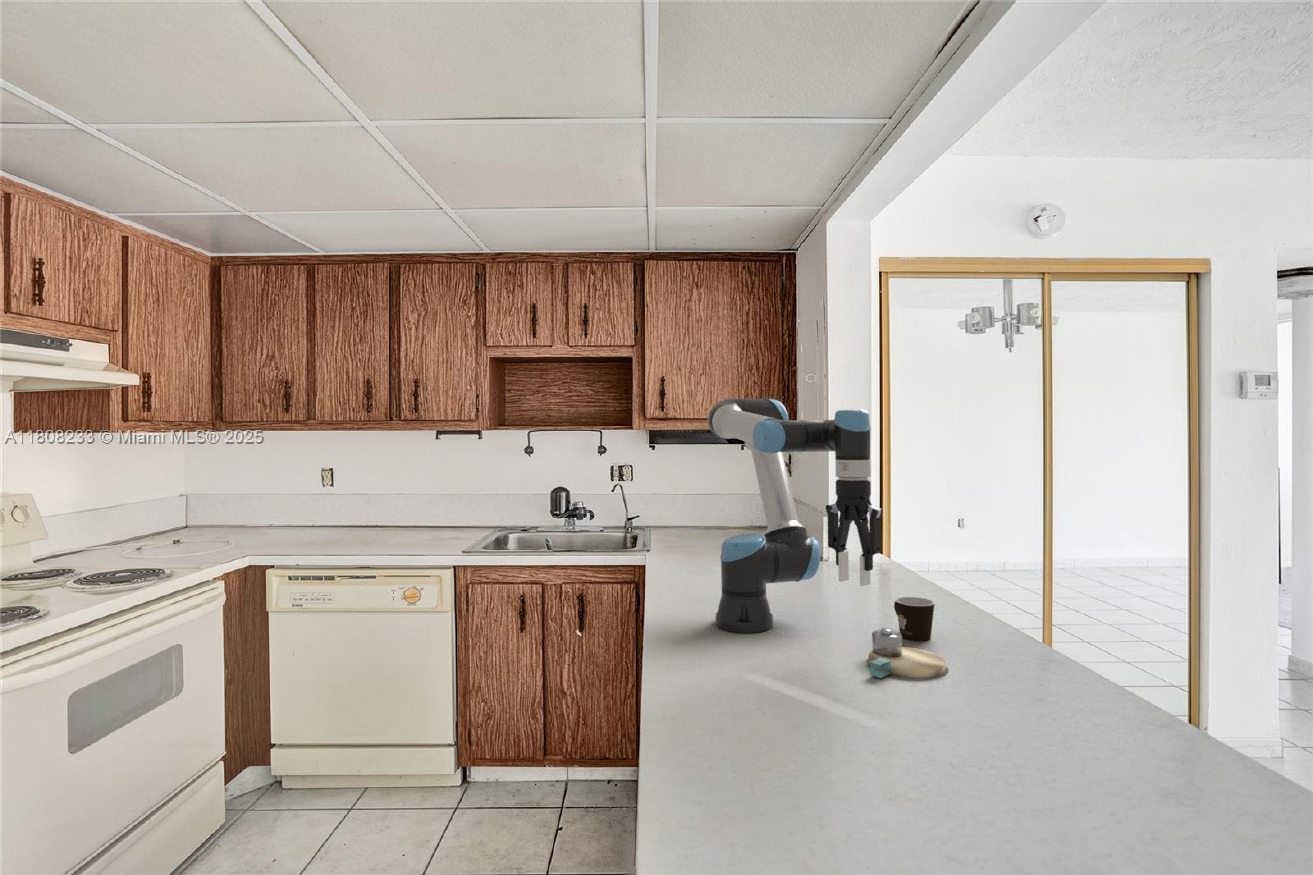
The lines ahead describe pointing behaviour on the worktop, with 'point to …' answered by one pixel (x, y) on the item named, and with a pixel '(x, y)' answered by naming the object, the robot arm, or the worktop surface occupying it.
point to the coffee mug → (914, 618)
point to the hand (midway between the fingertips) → (854, 582)
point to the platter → (908, 664)
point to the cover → (886, 643)
